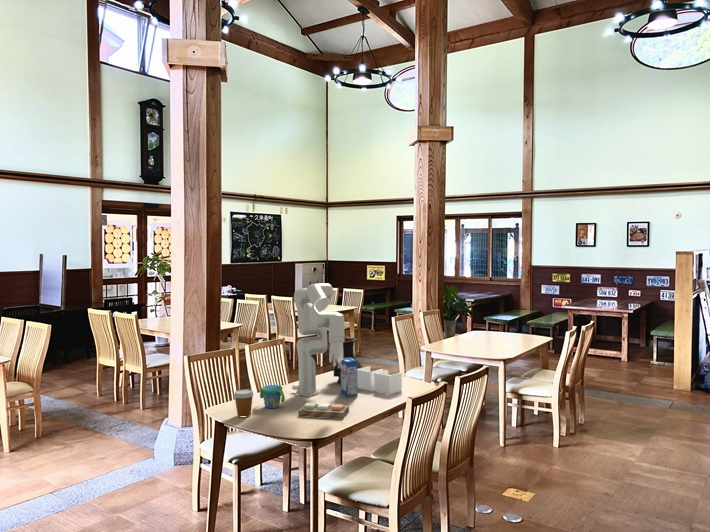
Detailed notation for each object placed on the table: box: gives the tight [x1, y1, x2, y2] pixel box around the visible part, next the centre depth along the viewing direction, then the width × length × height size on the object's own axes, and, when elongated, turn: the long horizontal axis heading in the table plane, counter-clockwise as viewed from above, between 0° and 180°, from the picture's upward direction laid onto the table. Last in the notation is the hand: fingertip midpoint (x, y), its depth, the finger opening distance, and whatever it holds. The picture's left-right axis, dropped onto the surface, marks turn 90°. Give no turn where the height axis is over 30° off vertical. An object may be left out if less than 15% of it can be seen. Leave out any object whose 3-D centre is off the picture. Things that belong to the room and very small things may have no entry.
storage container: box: [357, 366, 403, 396], centre depth 314 cm, size 25×11×11 cm, turn 46°
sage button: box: [303, 402, 318, 409], centre depth 270 cm, size 5×5×3 cm
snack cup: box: [259, 384, 286, 409], centre depth 282 cm, size 16×10×10 cm
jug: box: [330, 333, 363, 385], centre depth 332 cm, size 21×18×30 cm
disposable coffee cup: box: [233, 388, 254, 417], centre depth 267 cm, size 10×10×12 cm
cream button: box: [318, 402, 331, 410], centre depth 268 cm, size 5×5×3 cm
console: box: [297, 403, 350, 420], centre depth 268 cm, size 23×12×3 cm, turn 77°
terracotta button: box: [331, 403, 345, 411], centre depth 267 cm, size 5×5×3 cm
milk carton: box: [340, 357, 359, 399], centre depth 302 cm, size 10×6×20 cm, turn 22°
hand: (337, 376), depth 266 cm, fingers closed
